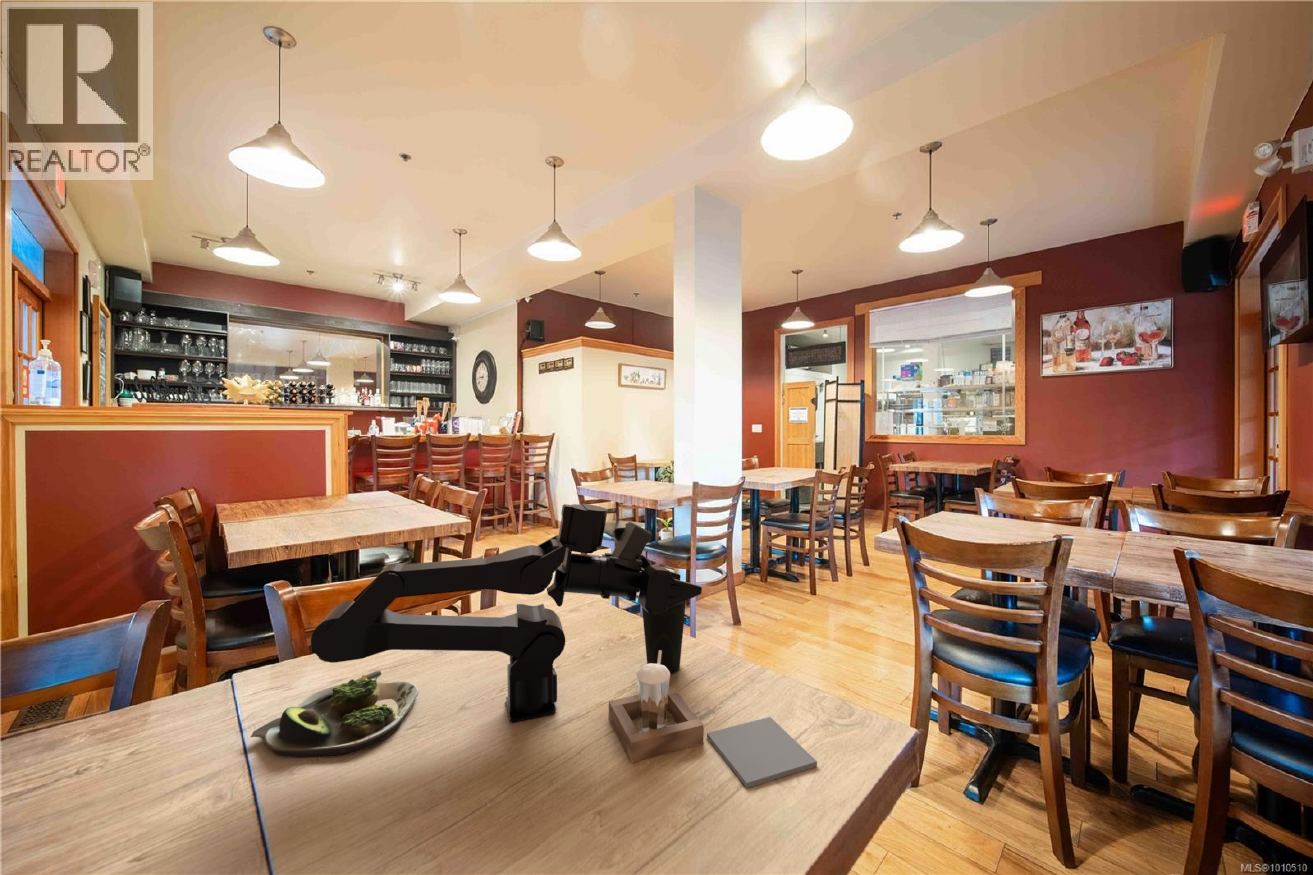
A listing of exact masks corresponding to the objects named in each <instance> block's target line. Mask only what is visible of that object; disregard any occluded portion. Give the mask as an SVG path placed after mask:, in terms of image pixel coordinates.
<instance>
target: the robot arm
mask: <svg viewBox="0 0 1313 875" xmlns="http://www.w3.org/2000/svg"><path fill="white" fill-rule="evenodd" d="M608 511H609V509H607V508H606V507H602V506H598V505H596V504H595V505H594V504H590V503H589V504H588V503H582V504H577V503H576V504H574V503H573V504H567V503H563V504H562V507H561V512H560V513H561V518H560V519H561V520H560V525H559V532H558V534H556V535H554V536H552V537H551V538H549V539H547V540H545V541H544V542H542V543H539V544H538V545H534V544H532V545H531V544H529V545H525V546H521V547H517V548H513V549H509V550H505V551H503V552H501V553H498V554H496V555H491V556H488V557H481V558H479V557H478V558H469V559H468V558H467V559H455V560H442V561H430V562H429V561H428V562H418V563H417V562H416V563H406V564H405V563H398V562H397V563H396V562H395V563H390V564H387V566H384V567H383V569H381V571H380V572H379V573H378V575H377V576H376V577H375V578H374V579H373V580H372V581H371V582H370V583H369V584H368V585H367V586H366V587H365V588H364V589H362V591H360V592H359V593H358V595H356V596H355V598H353V600H347V601H343V602H340V603H339V604H337V605H336V606H335V607H334V608H332V609H331V610H330V611H329V613H328V614H327V615H326V616H325V617H324V618H323V619H322V620H321V622H320V623H319V624H318V625H317V626H316V627H315V629H314V630H313V631H312V634H311V637H310V647H311V649H312V651H313V653H314V654H315V655H316V656H317V657H318V659H319V661H323V662H325V663H331V664H333V663H343V662H348V661H355V660H356V661H357V660H361V659H362V660H363V659H365V658H368V657H372V656H374V655H377V654H380V653H384V652H388V651H446V652H447V651H453V652H454V651H457V652H458V651H460V652H462V651H463V652H500V653H502V654H504V655H506V656H509V663H507V665H506V666H507V670H506V671H507V672H506V673H507V675H506V676H507V677H506V678H507V696H506V697H505V701H506V702H505V703H506V708H507V715H508V719H509V722H510V723H516V722H520V721H525V720H528V719H534V718H539V717H543V716H549V715H553V714H556V712H557V708H556V705H555V704H556V703H557V701H558V674H557V671H556V669H555V668H554V662H555V660H556V659H558V658H559V657H560V656H561V654H562V653H563V651H564V650H565V646H566V636H565V635H566V634H565V632H564V629H563V626H562V623H561V622H562V621H561V620H560V617H559V615H558V614H557V613H556V612H555V611H554V610H553V609H550V608H545V605H544V604H545V603H541V604H538V605H528V604H524V603H518V604H516V613H512V614H509V615H506V616H503V617H502V616H500V617H497V616H495V617H493V616H467V615H437V614H436V615H435V614H434V615H433V614H403V613H398V612H394V611H392V610H390V609H387V608H388V607H389V606H391V604H392V603H394V601H395V600H396V599H399V598H406V597H418V596H428V595H439V594H447V593H449V594H450V593H458V592H459V593H460V592H468V591H470V592H471V591H478V590H494V591H498V592H503V593H507V594H515V595H528V596H530V595H531V596H532V595H533V596H534V595H537V594H541V593H542V592H545V590H546V593H547V595H548V597H549V596H550V597H551V598H552V600H553V601H554V602H555V603H556V605H557V607H562V606H563V603H564V596H565V593H572V594H583V595H584V594H585V595H595V596H600V597H601V598H602V599H605V600H606V599H607V600H610V597H617V598H618V597H620V598H626V599H627V600H628V601H630V602H636V601H637V602H638V603H639V605H640V606H641V608H642V607H643V608H644V609H645V610H646V611H647V612H648V613H649V614H651V615H663V613H664V612H666V611H667V609H669V608H671V607H673V606H675V605H677V604H679V603H682V602H684V601H686V602H687V601H688V600H691V599H692V598H695V597H698V596H700V595H701V594H702V591H703V589H702V588H703V587H701V586H700V585H698V584H693V583H690V582H687V581H683V580H681V574H679V573H678V572H677V573H676V572H674V571H670V570H669V569H667V568H665V567H664V566H657V565H653V564H651V563H650V561H649V560H648V559H647V557H645V556H644V555H643V554H642V553H643V551H644V550H645V547H646V545H647V544H648V543H649V542H650V541H651V538H652V532H651V531H649V530H648V529H645V528H643V527H642V526H640V525H638V524H637V523H634V522H631V521H629V522H627V523H625V524H624V525H625V526H615V527H614V529H613V531H612V533H611V535H612V537H613V539H614V540H615V544H614V546H615V547H614V549H613V552H612V553H609V552H604V554H601V555H592V553H595V552H597V551H598V548H601V547H602V544H603V539H604V533H605V528H606V522H607V517H608ZM573 552H574V553H573ZM590 554H591V555H590ZM552 581H553V582H552ZM551 582H552V583H551ZM549 585H550V586H549ZM637 593H638V600H637Z"/></svg>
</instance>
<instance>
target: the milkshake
mask: <svg viewBox="0 0 1313 875" xmlns="http://www.w3.org/2000/svg"><path fill="white" fill-rule="evenodd" d="M661 654H662V650H659V652H658V661H657V664H653V663H649V664H647V663H646V664H644V665H642V666H640V668H638V670H637V671H636V683H637V695H639V709H640V718H639V721H640V733H641V732H645V731H649V730H654V729H658V728H662V727H666V726H667V715H668V714H667V713H668V711H667V702H668V690H669V688H670V678H671V674H670V672H669V670H668V669H667V668H666V667H665V666H664V665H660V663H661Z"/></svg>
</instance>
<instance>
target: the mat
mask: <svg viewBox="0 0 1313 875" xmlns="http://www.w3.org/2000/svg"><path fill="white" fill-rule="evenodd" d="M706 738H707V739H708V741H709V742H710V744H712V746H713V747H714V748H715V750H716V751H717V752H718V754H719V755H720V756H721V758H722V759H723V760H724V761H725V762H726V764H727V765H728V766H729V768H731V770H732V772H733V773H735V775H736V776H737V777H738V779H739V780H740V781H741V783H742V784H743V785H744V786H745V788H746V789H748V788H752V787H755V786H758V785H761V784H763V783H767V782H770V781H771V782H772V781H774V780H777V779H780V778H784V777H786V776H790V775H792V774H796V773H799V772H802V771H805V770H809V769H812V768H816V767H818V761H817V760H816V759H815V758H814V757H813V756H812V755H811V753H809V752H808V751H807V750H806V749H805V748H804V747H803V746H802V745H800V744H799V743H798V741H796V740H795V739H794V738H793V737H792V736H791V735H790V734H789V733H788V732H787V731H786V730H785V729H784V728H782V727H781V726H780V725H779V723H777V721H775V720H774V719H773V718H772V717H771V716H769V717H764V718H761V719H757V720H753V721H748V722H745V723H740V724H737V725H733V726H729V727H725V728H720V729H717V730H714V731H709V732H706Z"/></svg>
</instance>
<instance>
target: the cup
mask: <svg viewBox="0 0 1313 875" xmlns="http://www.w3.org/2000/svg"><path fill="white" fill-rule="evenodd" d="M686 603H687V600H686V601H684V602H682V603H679V604H677V605H675V606H673V607H671V608H669V609H667V611H666V612H664V613H663V615H651V614H649V613H648V612H647V611H646V610H645V609H644V608H643V607H642V606H641V610H642V621H643V622H642V623H643V631H644V633H643V634H644V644H645V653H646V664H649V663H653V664H657V661H658V652H659V650H662V654H661V663H660V665H664V666H665V667H666V668H667V669H668V670H669V672H670V675H673V674H675V673H677V672H678V671H679V670H680V668H681V658H682V646H683V635H684V627H685V626H684V625H685V624H684V623H685V616H686V614H685V613H686Z"/></svg>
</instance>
